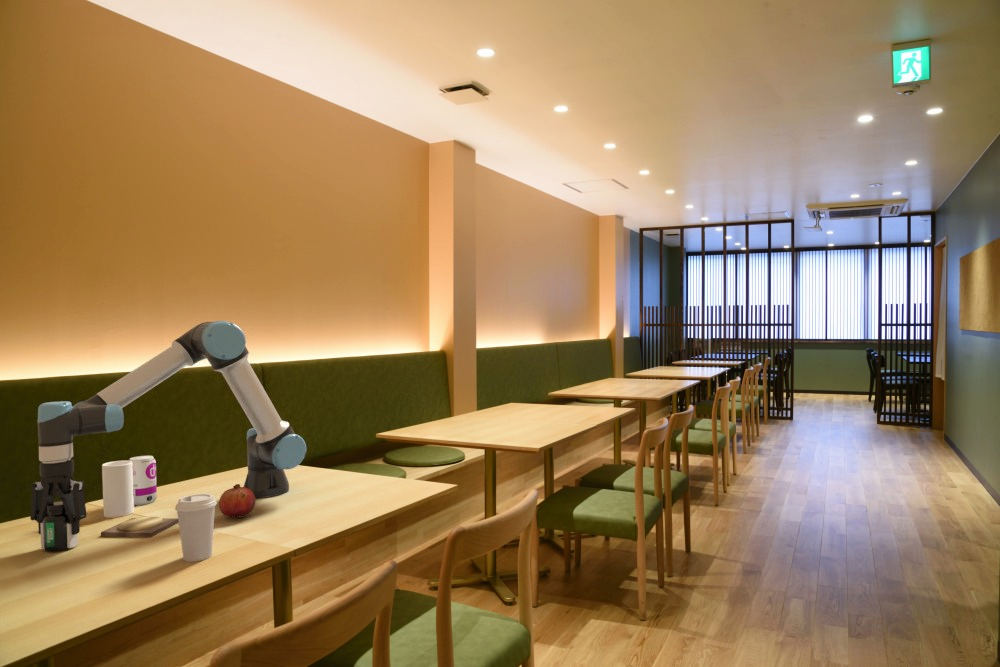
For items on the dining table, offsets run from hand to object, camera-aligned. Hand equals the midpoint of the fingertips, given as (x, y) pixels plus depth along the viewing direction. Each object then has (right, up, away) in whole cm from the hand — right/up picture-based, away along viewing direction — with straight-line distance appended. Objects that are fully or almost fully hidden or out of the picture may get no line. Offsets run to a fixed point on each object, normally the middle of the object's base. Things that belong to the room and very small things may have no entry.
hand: (59, 546), depth 171 cm
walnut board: (+13, 0, +15) cm, 20 cm away
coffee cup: (+41, 0, -9) cm, 42 cm away
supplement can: (-3, 0, +45) cm, 45 cm away
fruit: (+38, 0, +24) cm, 45 cm away
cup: (-3, 0, +32) cm, 32 cm away
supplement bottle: (0, -1, 0) cm, 1 cm away
